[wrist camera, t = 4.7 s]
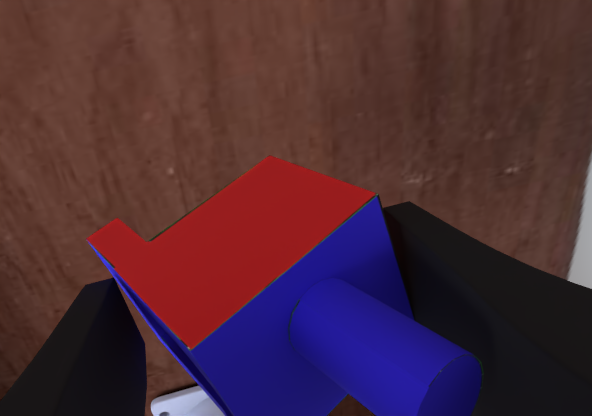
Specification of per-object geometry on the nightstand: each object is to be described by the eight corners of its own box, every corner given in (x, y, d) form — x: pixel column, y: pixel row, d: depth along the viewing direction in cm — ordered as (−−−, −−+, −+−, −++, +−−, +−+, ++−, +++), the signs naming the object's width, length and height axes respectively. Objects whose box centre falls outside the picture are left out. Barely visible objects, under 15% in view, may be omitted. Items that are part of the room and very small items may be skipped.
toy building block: (278, 245, 15) (539, 393, 9) (158, 341, 14) (380, 598, 8) (231, 141, 13) (523, 245, 7) (84, 239, 12) (302, 477, 6)
